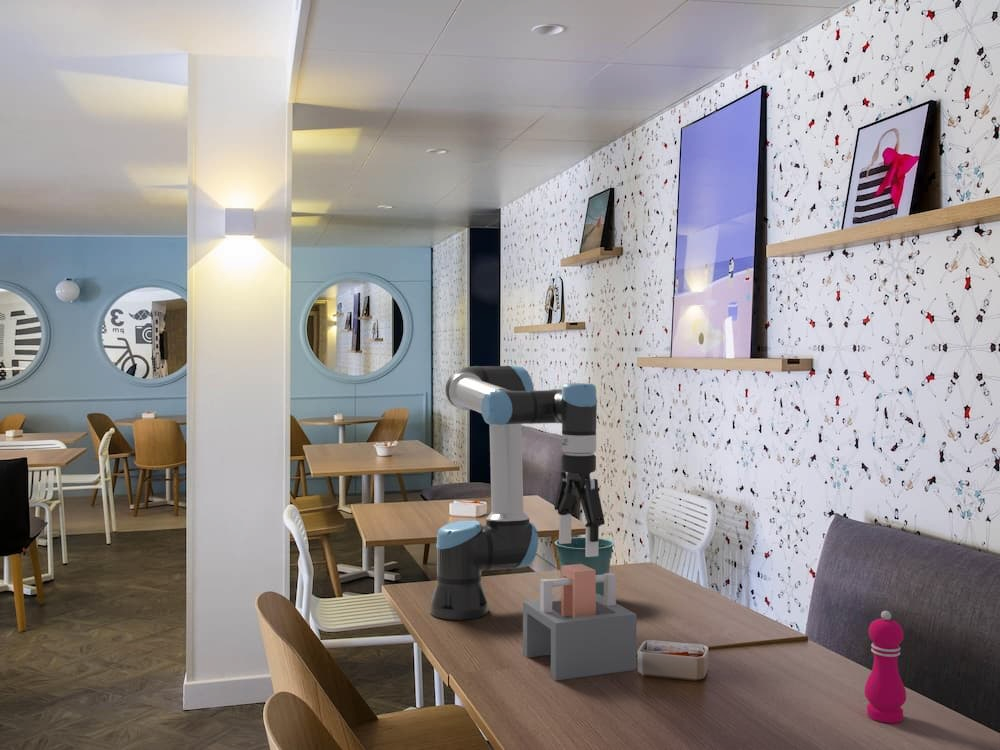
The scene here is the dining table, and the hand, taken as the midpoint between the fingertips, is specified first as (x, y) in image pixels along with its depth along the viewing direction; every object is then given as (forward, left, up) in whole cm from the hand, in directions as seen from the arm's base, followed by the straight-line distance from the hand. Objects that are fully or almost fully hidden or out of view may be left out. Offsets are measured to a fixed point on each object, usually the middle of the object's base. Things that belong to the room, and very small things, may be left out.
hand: (578, 549), depth 202 cm
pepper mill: (+48, +40, -25) cm, 68 cm away
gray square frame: (0, 0, -25) cm, 25 cm away
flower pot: (-45, +23, -25) cm, 56 cm away
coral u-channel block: (0, 0, -15) cm, 15 cm away
